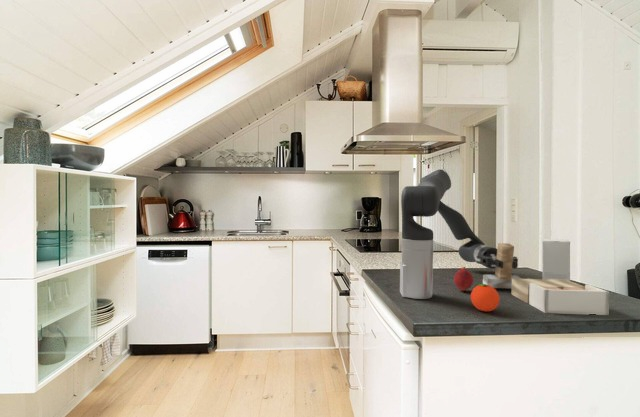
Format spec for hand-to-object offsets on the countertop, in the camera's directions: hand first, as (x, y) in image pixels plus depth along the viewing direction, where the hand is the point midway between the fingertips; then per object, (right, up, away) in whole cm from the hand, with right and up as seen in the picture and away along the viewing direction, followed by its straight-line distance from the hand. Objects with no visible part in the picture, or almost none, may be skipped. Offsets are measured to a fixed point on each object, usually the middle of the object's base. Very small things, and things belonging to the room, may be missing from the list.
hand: (508, 265), depth 112 cm
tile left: (+4, -6, -13) cm, 15 cm away
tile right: (+10, -6, -14) cm, 18 cm away
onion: (-14, -9, +1) cm, 17 cm away
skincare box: (+24, -9, +14) cm, 29 cm away
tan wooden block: (+7, -9, -8) cm, 14 cm away
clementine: (-17, -9, -19) cm, 27 cm away
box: (+7, -9, -17) cm, 20 cm away
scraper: (0, -8, +5) cm, 9 cm away
